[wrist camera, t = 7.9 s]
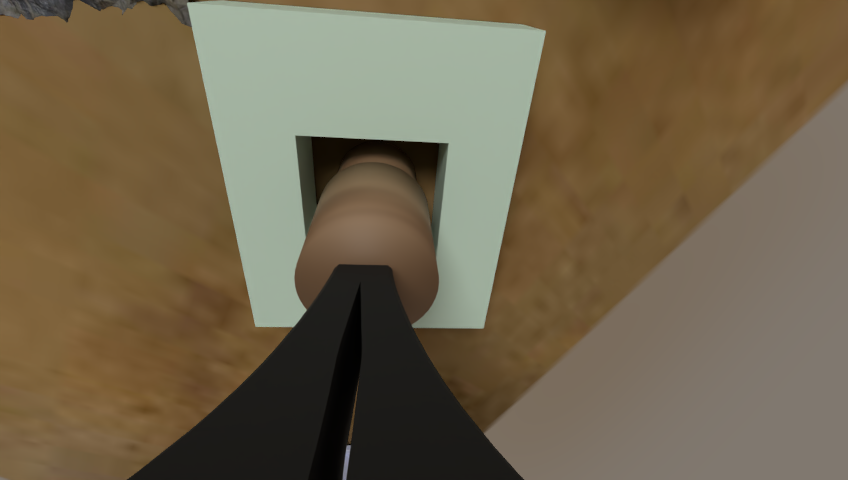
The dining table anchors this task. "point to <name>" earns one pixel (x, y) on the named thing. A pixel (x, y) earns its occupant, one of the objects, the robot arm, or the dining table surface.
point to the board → (365, 131)
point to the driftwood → (60, 3)
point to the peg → (372, 227)
